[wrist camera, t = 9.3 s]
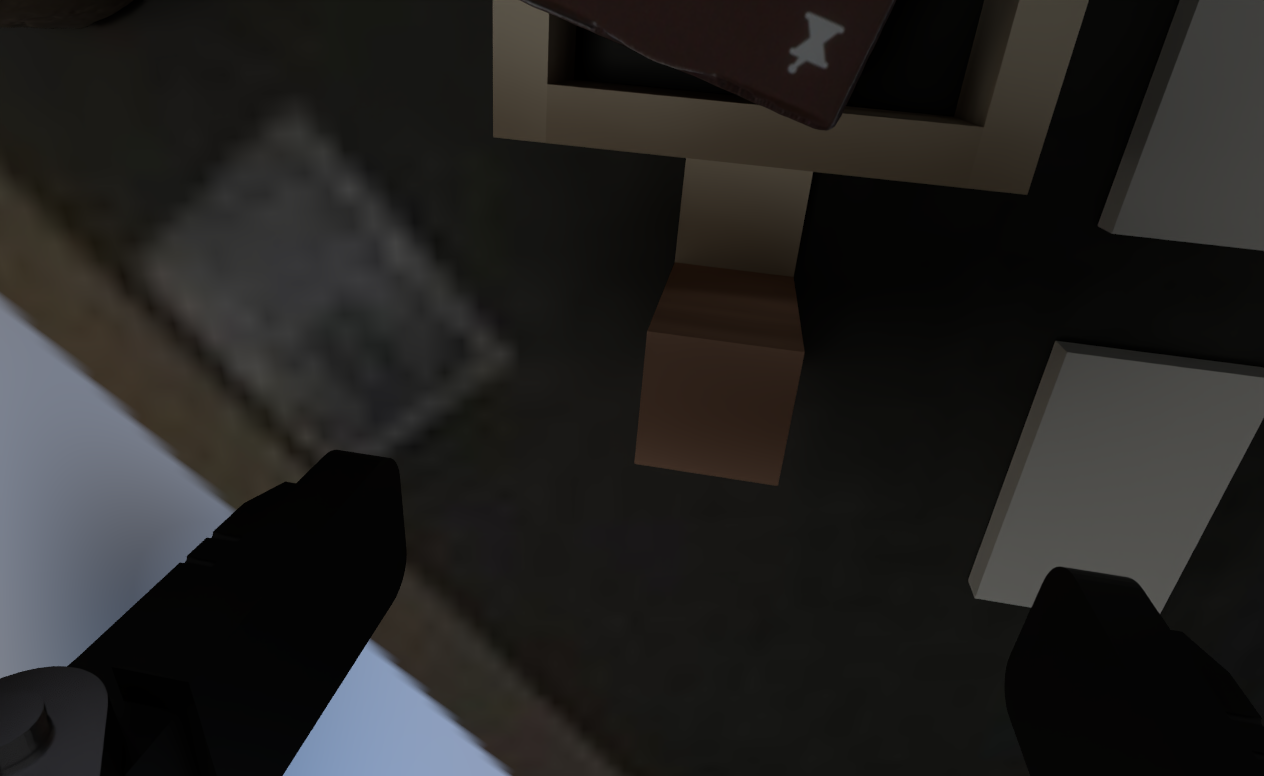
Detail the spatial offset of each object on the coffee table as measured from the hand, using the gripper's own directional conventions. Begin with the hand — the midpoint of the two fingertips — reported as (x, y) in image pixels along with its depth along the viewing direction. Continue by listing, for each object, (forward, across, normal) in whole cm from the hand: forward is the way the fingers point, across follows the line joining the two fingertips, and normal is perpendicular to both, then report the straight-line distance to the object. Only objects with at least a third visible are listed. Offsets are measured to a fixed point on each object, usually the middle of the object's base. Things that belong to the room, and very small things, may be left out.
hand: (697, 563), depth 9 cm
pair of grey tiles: (+12, -11, 0) cm, 16 cm away
